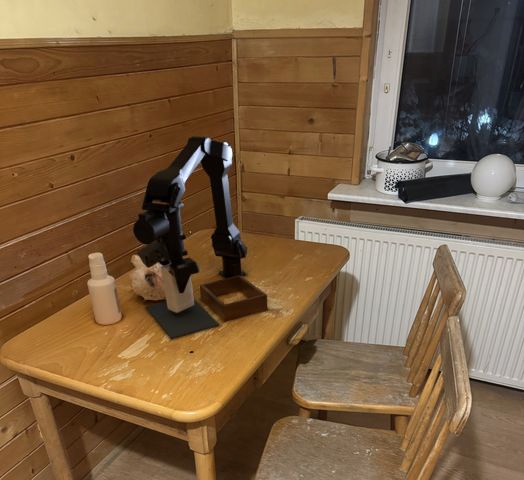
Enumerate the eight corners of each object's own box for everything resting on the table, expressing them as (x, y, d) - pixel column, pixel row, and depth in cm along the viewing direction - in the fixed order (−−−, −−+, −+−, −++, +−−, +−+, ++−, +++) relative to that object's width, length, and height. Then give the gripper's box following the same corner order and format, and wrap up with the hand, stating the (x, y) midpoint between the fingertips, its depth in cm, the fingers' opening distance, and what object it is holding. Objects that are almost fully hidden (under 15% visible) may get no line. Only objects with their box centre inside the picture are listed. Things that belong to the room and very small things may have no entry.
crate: (200, 299, 143) (199, 284, 141) (241, 289, 148) (240, 274, 146) (224, 322, 131) (223, 306, 129) (267, 309, 137) (267, 294, 134)
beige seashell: (179, 316, 148) (184, 297, 143) (128, 315, 142) (132, 295, 137) (168, 274, 159) (173, 255, 153) (121, 271, 153) (125, 251, 147)
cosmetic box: (184, 301, 137) (178, 258, 130) (195, 305, 134) (189, 262, 128) (166, 309, 133) (159, 265, 127) (177, 314, 130) (170, 269, 124)
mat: (146, 308, 140) (145, 306, 139) (189, 297, 145) (189, 295, 144) (171, 339, 125) (170, 337, 124) (219, 325, 130) (219, 323, 129)
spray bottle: (127, 315, 136) (114, 251, 127) (112, 326, 131) (99, 261, 121) (105, 311, 138) (91, 249, 129) (90, 323, 133) (75, 258, 123)
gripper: (126, 226, 126) (136, 283, 134) (150, 248, 112) (160, 311, 120) (169, 218, 131) (176, 274, 139) (196, 239, 117) (203, 300, 125)
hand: (178, 289), depth 131 cm, fingers closed on cosmetic box, 5 cm apart
